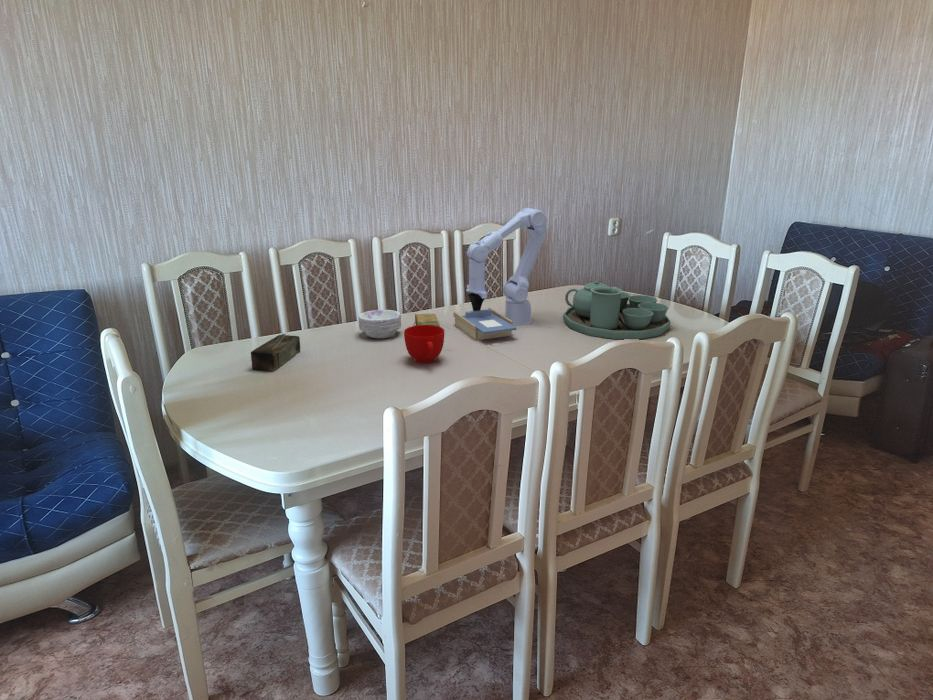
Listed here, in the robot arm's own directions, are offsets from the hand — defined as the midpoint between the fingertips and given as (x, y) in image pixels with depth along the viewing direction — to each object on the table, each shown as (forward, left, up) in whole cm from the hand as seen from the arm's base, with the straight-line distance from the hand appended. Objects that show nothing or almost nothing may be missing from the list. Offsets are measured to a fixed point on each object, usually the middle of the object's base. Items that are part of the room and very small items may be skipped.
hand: (476, 312), depth 226 cm
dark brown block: (+74, +7, -6) cm, 75 cm away
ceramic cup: (+30, +27, -6) cm, 41 cm away
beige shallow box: (0, +5, -6) cm, 8 cm away
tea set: (-52, +16, -6) cm, 55 cm away
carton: (+18, -6, -6) cm, 20 cm away
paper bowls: (+36, -6, -6) cm, 37 cm away
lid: (0, +10, -2) cm, 10 cm away
